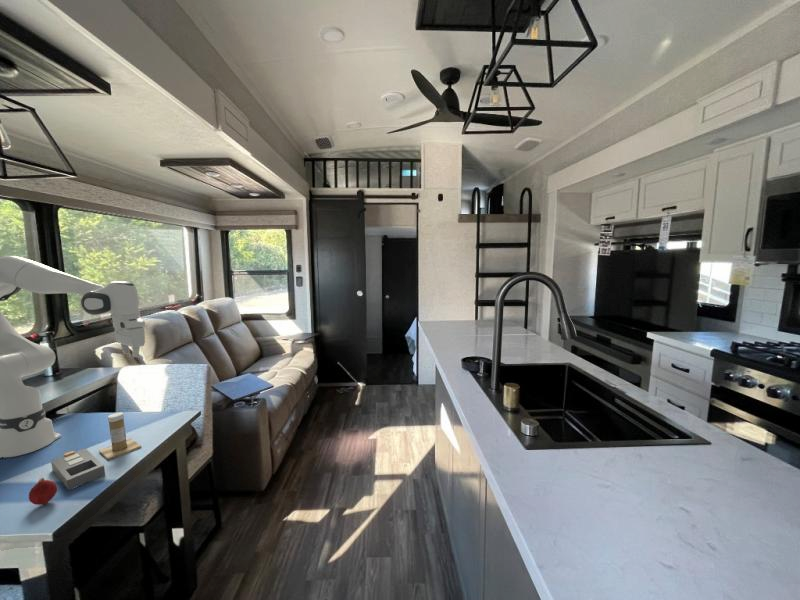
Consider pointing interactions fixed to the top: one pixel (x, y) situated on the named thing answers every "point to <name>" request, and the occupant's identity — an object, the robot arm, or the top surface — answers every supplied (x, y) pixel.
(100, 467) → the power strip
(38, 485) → the onion
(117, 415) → the sprinkles bottle
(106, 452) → the wooden mat
